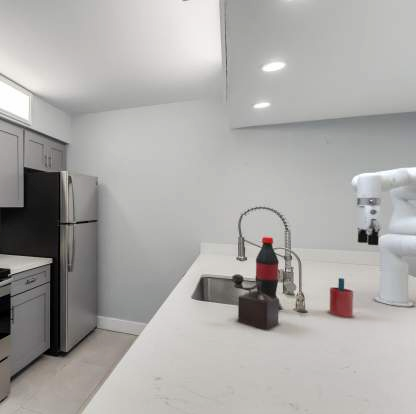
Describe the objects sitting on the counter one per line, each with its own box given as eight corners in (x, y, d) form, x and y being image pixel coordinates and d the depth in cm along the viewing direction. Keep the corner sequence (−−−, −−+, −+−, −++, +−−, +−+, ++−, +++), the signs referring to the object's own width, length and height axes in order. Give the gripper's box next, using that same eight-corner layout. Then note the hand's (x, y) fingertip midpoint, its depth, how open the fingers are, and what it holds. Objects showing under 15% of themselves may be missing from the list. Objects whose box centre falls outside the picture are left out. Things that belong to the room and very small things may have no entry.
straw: (338, 312, 127) (339, 277, 127) (344, 313, 126) (344, 278, 126) (337, 313, 126) (337, 278, 126) (342, 314, 125) (343, 279, 125)
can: (332, 310, 131) (333, 286, 131) (354, 315, 125) (355, 290, 125) (326, 313, 127) (327, 289, 127) (349, 319, 121) (350, 293, 121)
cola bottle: (275, 306, 134) (276, 236, 134) (279, 312, 126) (281, 238, 126) (253, 304, 137) (254, 235, 137) (256, 310, 129) (258, 237, 129)
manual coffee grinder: (248, 315, 122) (249, 269, 122) (279, 324, 114) (280, 274, 114) (228, 324, 112) (229, 274, 112) (260, 334, 104) (261, 280, 104)
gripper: (390, 202, 121) (389, 246, 121) (370, 203, 137) (369, 242, 137) (366, 202, 124) (365, 245, 124) (349, 203, 140) (348, 241, 140)
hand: (367, 243), depth 131 cm, fingers open, 9 cm apart
